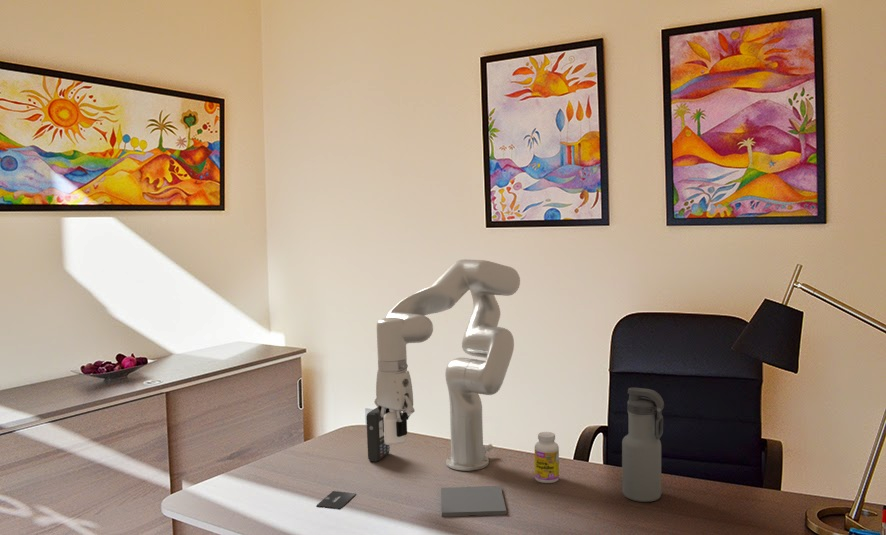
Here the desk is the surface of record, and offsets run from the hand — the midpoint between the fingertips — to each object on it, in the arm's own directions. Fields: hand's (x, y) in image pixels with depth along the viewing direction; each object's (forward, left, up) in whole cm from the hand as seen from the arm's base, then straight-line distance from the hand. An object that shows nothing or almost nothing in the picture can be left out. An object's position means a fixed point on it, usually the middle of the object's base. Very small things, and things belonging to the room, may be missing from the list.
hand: (395, 432), depth 194 cm
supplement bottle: (-35, +23, -17) cm, 45 cm away
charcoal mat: (-10, +18, -17) cm, 27 cm away
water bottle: (-42, +49, -17) cm, 66 cm away
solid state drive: (+12, -10, -18) cm, 24 cm away
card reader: (-16, -26, -17) cm, 36 cm away
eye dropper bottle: (0, 0, -3) cm, 3 cm away
